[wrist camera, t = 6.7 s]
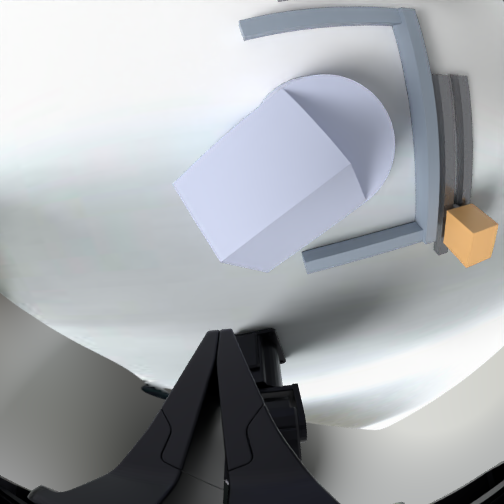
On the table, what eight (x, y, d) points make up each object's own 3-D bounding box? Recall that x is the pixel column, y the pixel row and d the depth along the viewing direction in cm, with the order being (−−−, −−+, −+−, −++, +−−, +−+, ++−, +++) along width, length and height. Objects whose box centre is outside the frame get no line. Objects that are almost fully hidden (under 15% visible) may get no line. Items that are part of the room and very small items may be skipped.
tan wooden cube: (462, 229, 22) (490, 257, 18) (437, 237, 22) (466, 267, 18) (466, 198, 20) (498, 224, 16) (440, 205, 20) (473, 233, 16)
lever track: (458, 241, 23) (463, 246, 22) (433, 249, 24) (438, 255, 23) (459, 75, 14) (467, 76, 13) (430, 73, 14) (437, 74, 14)
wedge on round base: (263, 247, 23) (392, 151, 18) (272, 305, 17) (444, 182, 13) (182, 168, 19) (325, 52, 14) (158, 207, 13) (367, 39, 9)
